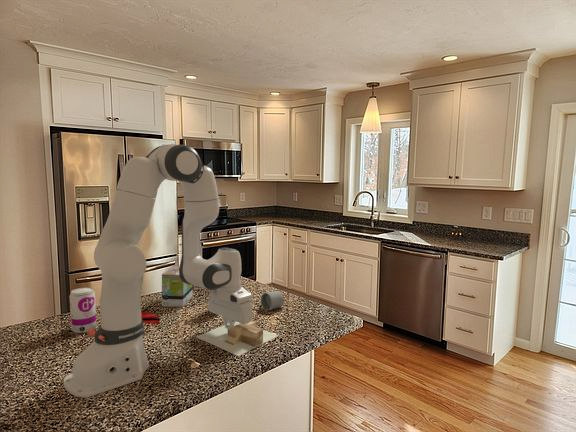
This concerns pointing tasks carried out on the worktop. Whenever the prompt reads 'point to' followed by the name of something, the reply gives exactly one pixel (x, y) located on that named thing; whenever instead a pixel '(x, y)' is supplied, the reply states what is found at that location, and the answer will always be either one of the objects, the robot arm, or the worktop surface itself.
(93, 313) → the supplement can
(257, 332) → the maple T block
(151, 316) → the cloth
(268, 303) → the ceramic mug
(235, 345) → the sage board
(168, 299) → the tea box
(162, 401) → the worktop surface
